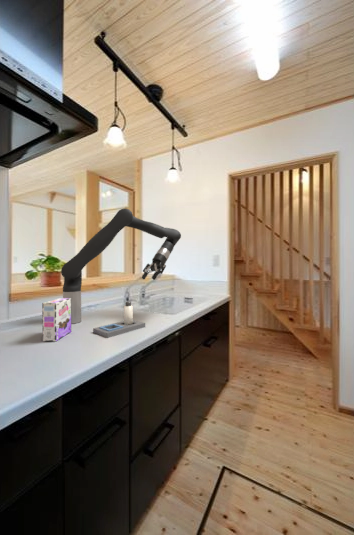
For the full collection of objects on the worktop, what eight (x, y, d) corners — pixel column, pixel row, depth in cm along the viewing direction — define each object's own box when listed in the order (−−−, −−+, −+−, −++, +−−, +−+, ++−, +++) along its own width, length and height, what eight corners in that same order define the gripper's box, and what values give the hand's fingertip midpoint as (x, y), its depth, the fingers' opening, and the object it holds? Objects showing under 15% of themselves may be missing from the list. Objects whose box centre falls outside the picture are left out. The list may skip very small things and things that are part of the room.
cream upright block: (122, 327, 115) (122, 302, 115) (129, 325, 118) (129, 300, 118) (127, 329, 112) (127, 303, 112) (134, 327, 116) (134, 301, 115)
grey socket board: (93, 332, 107) (93, 327, 107) (130, 322, 124) (130, 318, 124) (107, 337, 99) (107, 332, 99) (145, 326, 116) (145, 321, 116)
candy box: (55, 341, 94) (55, 302, 94) (42, 341, 95) (41, 302, 94) (72, 331, 108) (71, 297, 108) (59, 331, 108) (59, 297, 108)
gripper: (149, 253, 135) (135, 274, 127) (166, 251, 125) (152, 274, 117) (156, 261, 139) (143, 282, 131) (173, 260, 129) (160, 283, 121)
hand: (147, 278), depth 124 cm, fingers open, 8 cm apart
